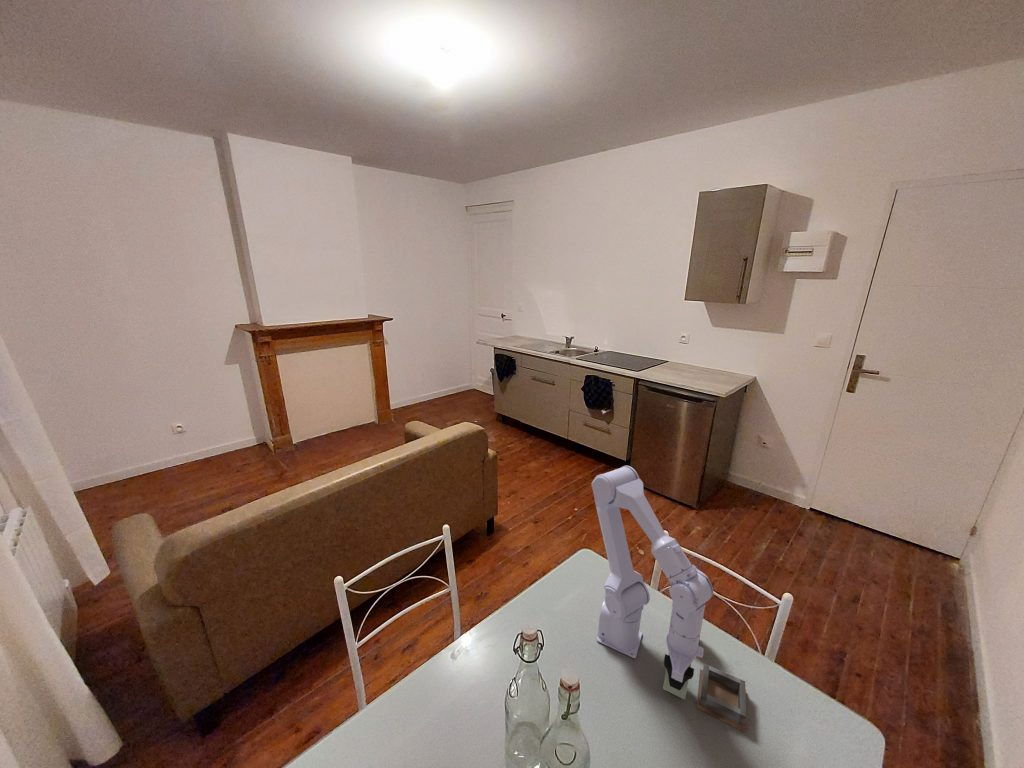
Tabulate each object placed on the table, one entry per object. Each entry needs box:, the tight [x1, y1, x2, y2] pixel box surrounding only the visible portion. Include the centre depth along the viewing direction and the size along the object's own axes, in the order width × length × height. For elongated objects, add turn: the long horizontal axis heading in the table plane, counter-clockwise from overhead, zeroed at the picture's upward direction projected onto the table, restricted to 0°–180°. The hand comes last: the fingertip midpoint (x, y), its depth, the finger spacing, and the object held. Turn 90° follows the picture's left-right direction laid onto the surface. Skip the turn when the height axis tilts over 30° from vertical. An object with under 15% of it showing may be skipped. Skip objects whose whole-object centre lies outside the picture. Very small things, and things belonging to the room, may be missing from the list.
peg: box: [662, 653, 692, 701], centre depth 82 cm, size 4×4×8 cm
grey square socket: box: [696, 663, 748, 733], centre depth 82 cm, size 9×9×3 cm
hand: (676, 676), depth 83 cm, fingers closed on peg, 4 cm apart
